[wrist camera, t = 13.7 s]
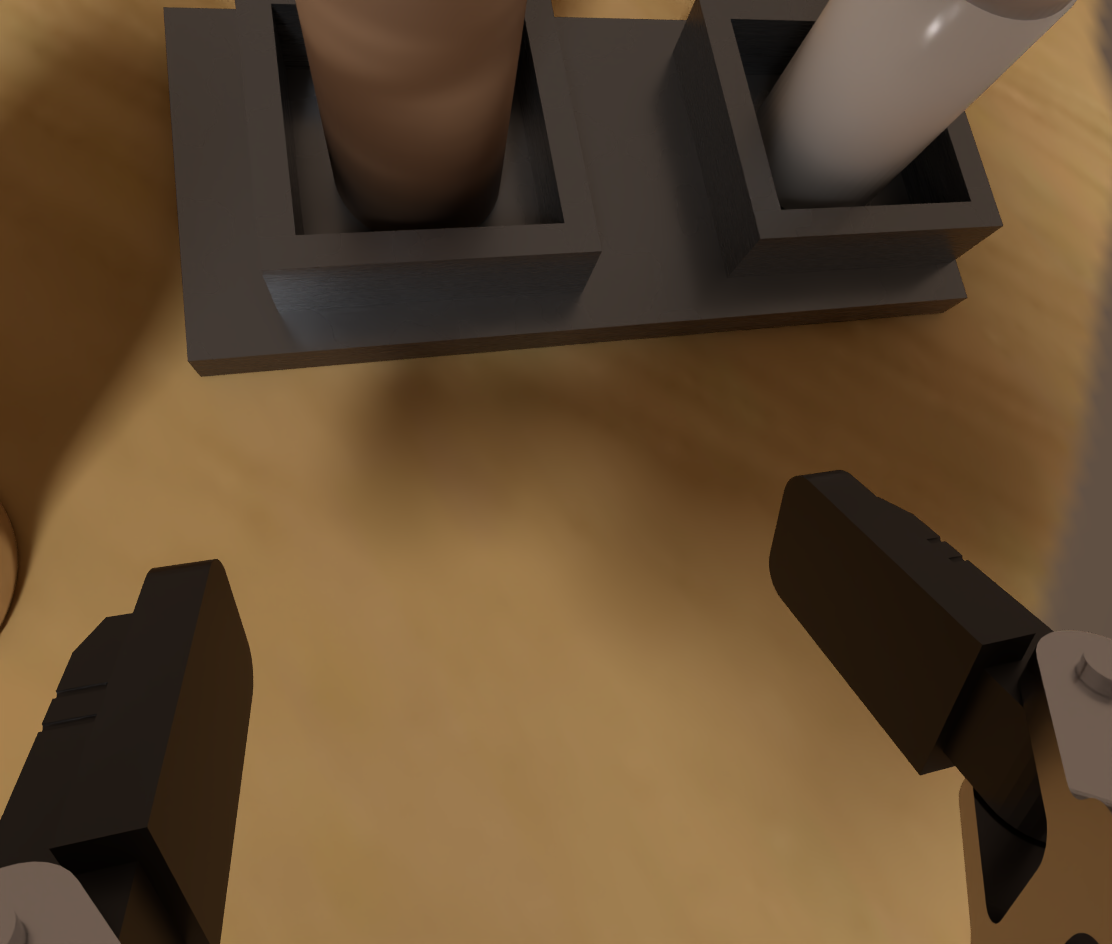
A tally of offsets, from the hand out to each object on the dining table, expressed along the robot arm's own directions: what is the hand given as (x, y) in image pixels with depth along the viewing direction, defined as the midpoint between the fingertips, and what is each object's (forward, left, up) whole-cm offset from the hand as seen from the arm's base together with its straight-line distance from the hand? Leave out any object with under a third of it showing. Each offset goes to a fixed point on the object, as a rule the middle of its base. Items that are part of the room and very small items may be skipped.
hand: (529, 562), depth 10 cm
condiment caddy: (+5, +11, -8) cm, 15 cm away
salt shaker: (+12, +11, -7) cm, 18 cm away
